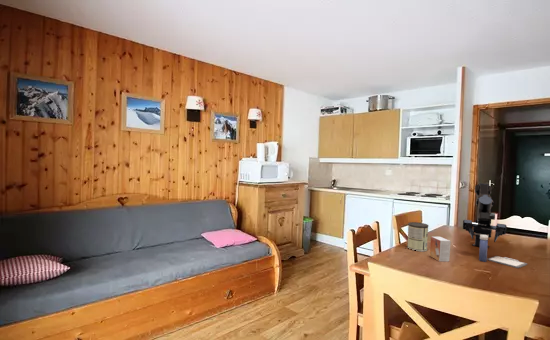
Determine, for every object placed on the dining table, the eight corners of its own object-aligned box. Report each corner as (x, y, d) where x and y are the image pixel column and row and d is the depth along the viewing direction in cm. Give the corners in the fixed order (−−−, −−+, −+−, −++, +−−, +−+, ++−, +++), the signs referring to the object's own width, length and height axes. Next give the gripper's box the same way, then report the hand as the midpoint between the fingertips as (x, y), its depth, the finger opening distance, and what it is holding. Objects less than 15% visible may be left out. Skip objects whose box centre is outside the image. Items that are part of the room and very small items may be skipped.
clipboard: (496, 256, 158) (496, 254, 158) (527, 264, 147) (527, 262, 147) (487, 260, 153) (487, 257, 153) (518, 268, 142) (518, 266, 142)
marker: (480, 259, 154) (482, 234, 153) (488, 261, 151) (489, 235, 150) (477, 260, 152) (478, 234, 151) (484, 262, 149) (486, 236, 148)
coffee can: (406, 245, 175) (407, 221, 175) (425, 247, 172) (427, 223, 171) (407, 250, 165) (409, 224, 165) (428, 252, 162) (429, 226, 162)
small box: (429, 256, 156) (430, 236, 155) (439, 256, 156) (440, 236, 156) (439, 261, 148) (440, 240, 147) (449, 261, 148) (450, 240, 148)
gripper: (464, 204, 162) (462, 228, 153) (507, 208, 152) (508, 234, 143) (463, 217, 169) (462, 240, 160) (504, 221, 159) (505, 246, 150)
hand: (483, 240), depth 153 cm, fingers open, 9 cm apart
